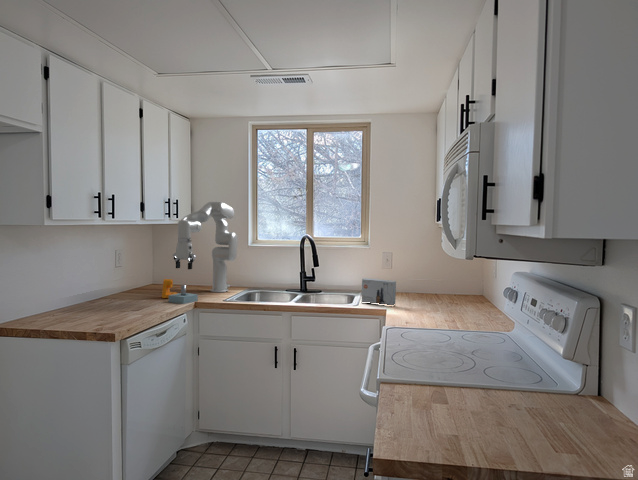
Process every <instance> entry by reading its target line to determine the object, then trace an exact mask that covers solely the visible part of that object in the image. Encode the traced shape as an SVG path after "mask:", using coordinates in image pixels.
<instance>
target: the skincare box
mask: <svg viewBox="0 0 638 480" xmlns="http://www.w3.org/2000/svg"><path fill="white" fill-rule="evenodd" d="M396 291H397V280H388V279H387V280H386V279H378V278H367V277H364V278H362V279H361V303H362V302H370V303H379V304H387V305H394V304H395V305H396V299H397V298H396V296H397V292H396Z"/></svg>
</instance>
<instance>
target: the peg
mask: <svg viewBox="0 0 638 480" xmlns="http://www.w3.org/2000/svg"><path fill="white" fill-rule="evenodd" d="M180 293H181V296H185V295H186V293H187V284H181V285H180Z"/></svg>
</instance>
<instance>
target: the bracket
mask: <svg viewBox="0 0 638 480" xmlns="http://www.w3.org/2000/svg"><path fill="white" fill-rule="evenodd" d="M173 285H174V281H173V278H164V279H163V282H162V291H161V298H162V299H169V295H173V294H178V291H177V292H175V291H171V290H170V289H172V288H173Z"/></svg>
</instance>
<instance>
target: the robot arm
mask: <svg viewBox="0 0 638 480" xmlns="http://www.w3.org/2000/svg"><path fill="white" fill-rule="evenodd" d="M234 216H235V210H234V208H233V207H232V206H230V204H229V205H228V204H227V203H225V202H223V201H208V202H206V204H204V205H203V206H202V207H201V208H200V209H199V210H197V211H193V212H192V213H189V214H187V215H185V216H183V218H181V219H180V220H179V221H178V222H177V243H176V250H175V253H173V254H172V258H173V260H174V262H175V269H181V260H186V261H187V262H188V263H187V270H192V269H193V263H194V261H195V260H196V257H197V256H196V255H195V254H194V249H193V244H192V239H191V237H192V233H198V232H200V231H201V230H202V224H201V223H206V222H207V221H209V220H210V219H211V218H212V220H214V222H215V238H214V241H215V244H217V245H219V246H216V247H213V249H212V250H211V258H212V288H211V289H210V292H212V293H226V291H227V292H229V289H228V288H230V287H231V284H228V283H227V274H228V273H227V272H228V271H227V270H228V267H227V263H226V262H227V261H228V262H229V261H230V262H233V261H235V260H236V258H237V254H238V253H237V252H238V240H239V239H238V234H236V232H233V231H229V223H228V222H227V220H230V219H233V218H234ZM220 245H221V246H220ZM225 261H226V262H225Z"/></svg>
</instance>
